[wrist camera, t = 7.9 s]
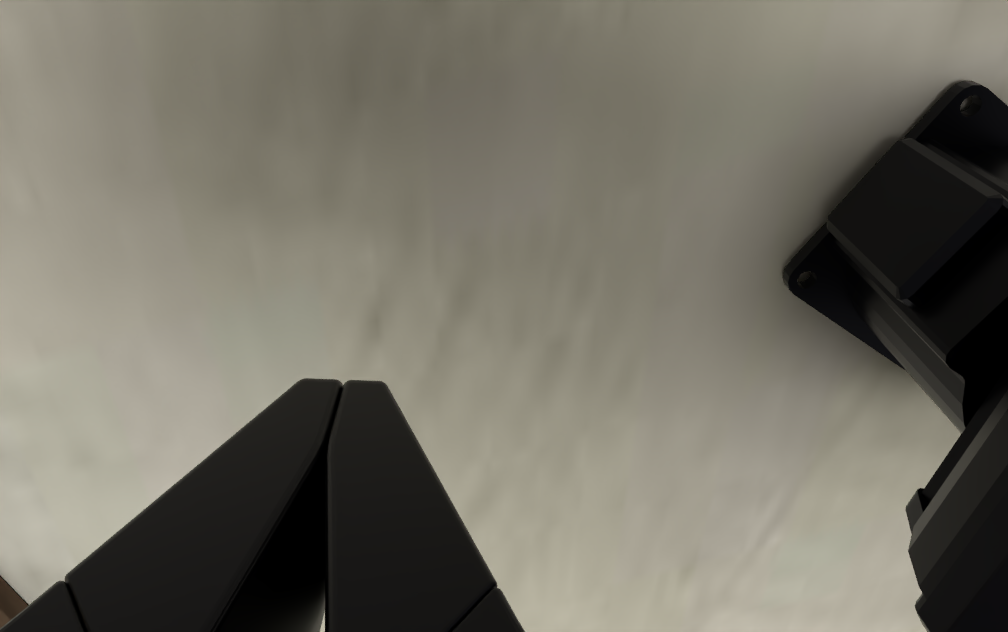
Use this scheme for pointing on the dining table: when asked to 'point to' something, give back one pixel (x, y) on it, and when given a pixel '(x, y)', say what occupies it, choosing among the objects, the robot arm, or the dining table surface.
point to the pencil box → (9, 603)
